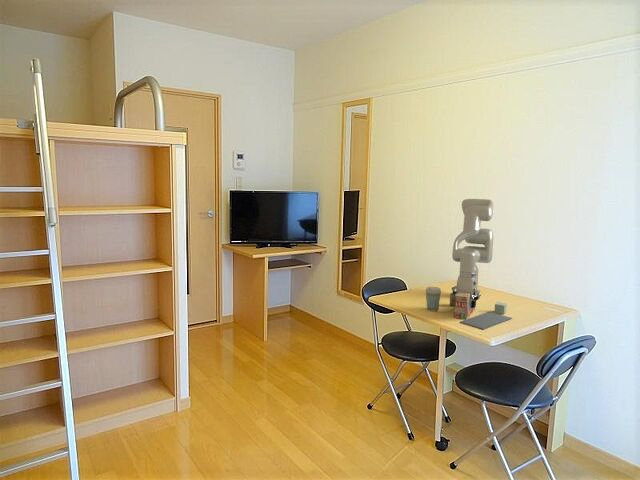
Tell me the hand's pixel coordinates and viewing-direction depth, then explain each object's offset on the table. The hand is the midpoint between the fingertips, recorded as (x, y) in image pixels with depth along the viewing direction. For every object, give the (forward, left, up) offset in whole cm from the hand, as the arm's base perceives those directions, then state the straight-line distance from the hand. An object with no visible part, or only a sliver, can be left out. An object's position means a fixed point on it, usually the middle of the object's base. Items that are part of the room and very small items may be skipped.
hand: (465, 305), depth 242 cm
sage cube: (-17, +11, -4) cm, 21 cm away
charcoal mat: (+2, +14, -4) cm, 15 cm away
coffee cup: (+8, -15, -4) cm, 18 cm away
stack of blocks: (-1, 0, -5) cm, 5 cm away
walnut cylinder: (-8, -12, -4) cm, 15 cm away
